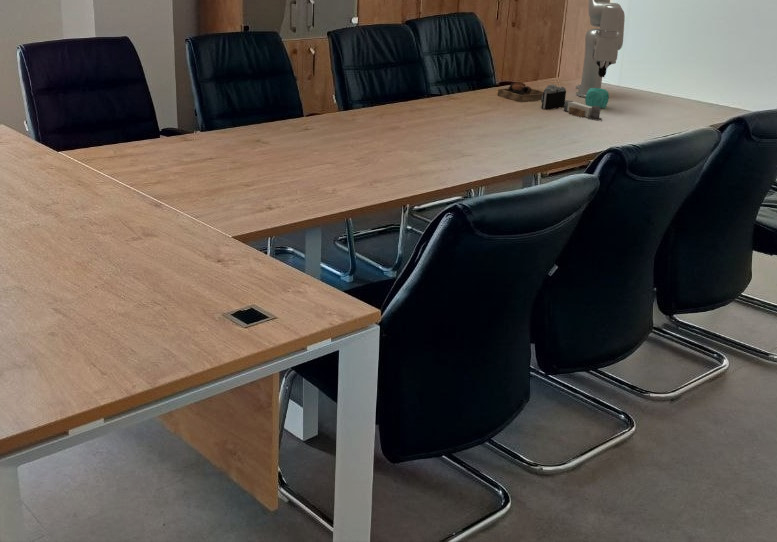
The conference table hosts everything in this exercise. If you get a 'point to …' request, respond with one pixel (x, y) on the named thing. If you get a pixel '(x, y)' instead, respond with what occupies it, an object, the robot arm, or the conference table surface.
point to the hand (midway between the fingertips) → (601, 76)
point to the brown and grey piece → (579, 112)
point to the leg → (579, 106)
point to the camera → (553, 97)
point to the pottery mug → (519, 88)
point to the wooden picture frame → (533, 96)
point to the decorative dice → (597, 97)
